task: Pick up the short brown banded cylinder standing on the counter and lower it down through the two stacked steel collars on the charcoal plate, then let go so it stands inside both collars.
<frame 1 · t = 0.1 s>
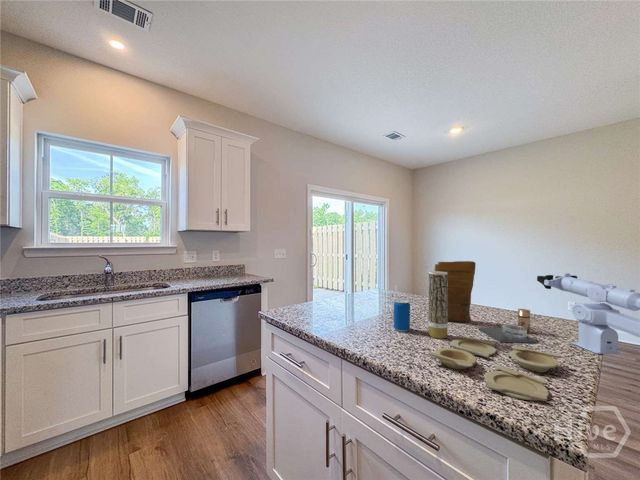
hand: (547, 278, 113), 22 cm above the worktop, tool horizontal, fingers open, 7 cm apart
grey patterned cylinder: (437, 336, 104), on the worktop
collar stand: (514, 337, 103), on the worktop
beverage can: (401, 330, 111), on the worktop
tableware set: (491, 366, 81), on the worktop
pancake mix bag: (453, 321, 124), on the worktop
brown banded cylinder: (523, 331, 110), on the worktop
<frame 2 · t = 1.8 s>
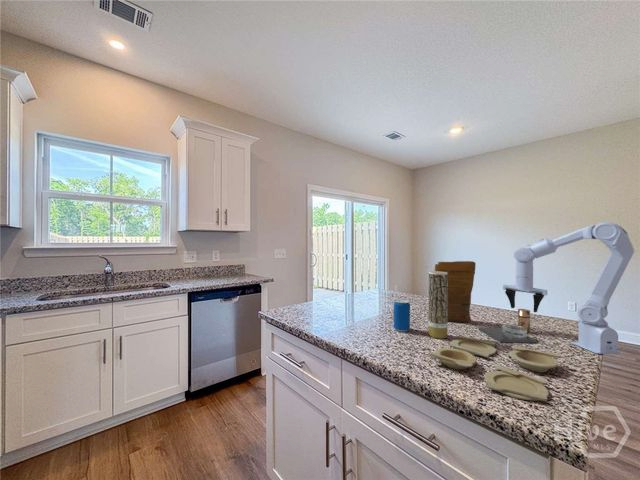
hand: (523, 309, 110), 9 cm above the worktop, tool pointing down, fingers open, 7 cm apart
nothing on the worktop moved.
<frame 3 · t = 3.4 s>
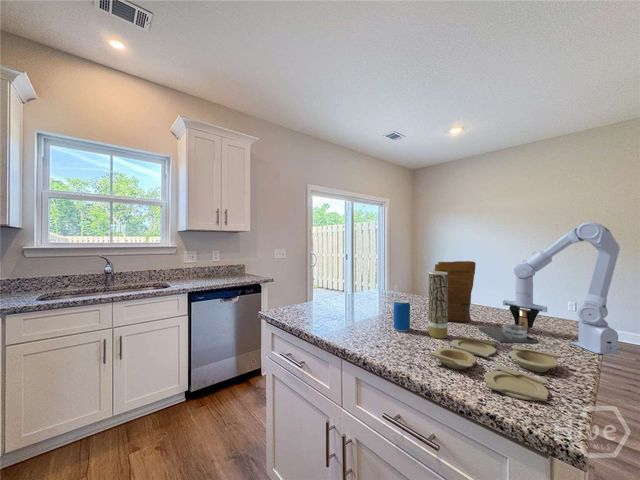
hand: (523, 325, 110), 2 cm above the worktop, tool pointing down, fingers closed on brown banded cylinder, 4 cm apart
brown banded cylinder: (523, 331, 110), on the worktop, touching gripper
everything else where it was.
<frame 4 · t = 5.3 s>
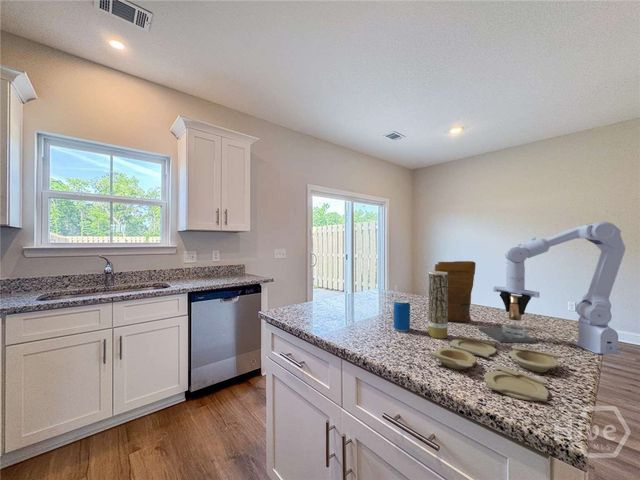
hand: (515, 312, 104), 9 cm above the worktop, tool pointing down, fingers closed on brown banded cylinder, 4 cm apart
brown banded cylinder: (515, 319, 104), point 7 cm above the worktop, touching gripper
everything else where it was.
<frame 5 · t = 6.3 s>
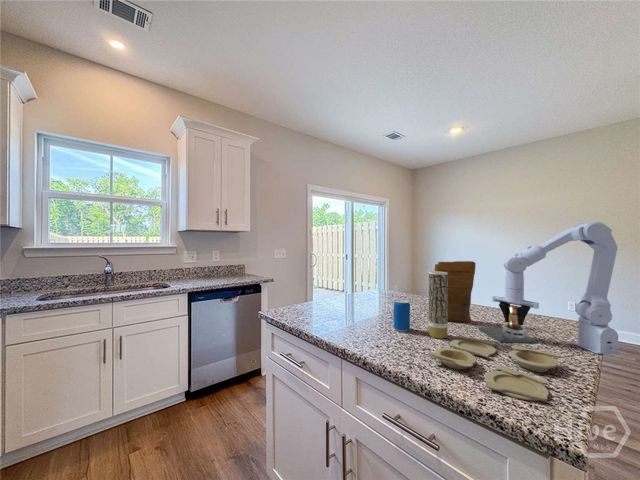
hand: (514, 323, 103), 6 cm above the worktop, tool pointing down, fingers closed on brown banded cylinder, 4 cm apart
brown banded cylinder: (514, 329, 103), point 3 cm above the worktop, touching gripper
everything else where it was.
when the fingers open (5 cm above the worktop, at t = 7.2 s): brown banded cylinder drops 2 cm, resting on collar stand.
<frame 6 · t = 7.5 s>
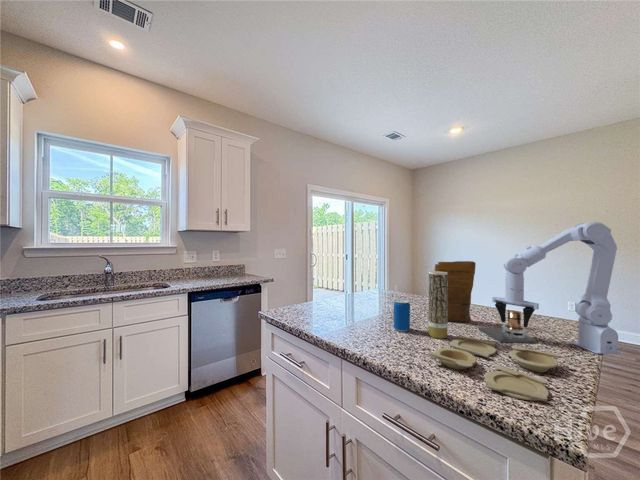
hand: (514, 324, 103), 5 cm above the worktop, tool pointing down, fingers open, 7 cm apart
brown banded cylinder: (514, 334, 103), point 1 cm above the worktop, touching collar stand
everything else where it was.
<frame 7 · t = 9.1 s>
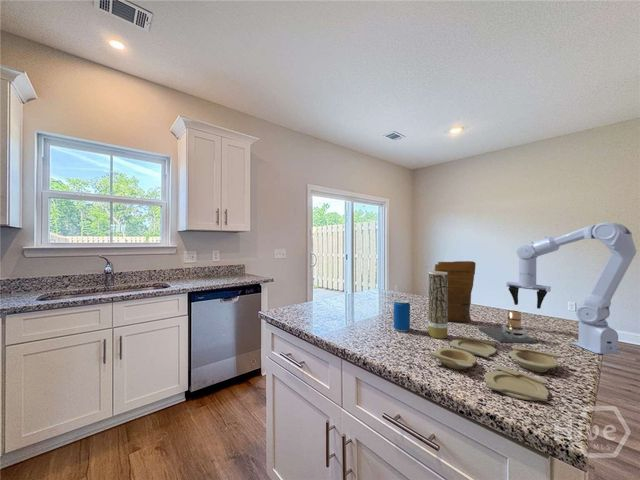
hand: (527, 306, 111), 10 cm above the worktop, tool pointing down, fingers open, 7 cm apart
nothing on the worktop moved.
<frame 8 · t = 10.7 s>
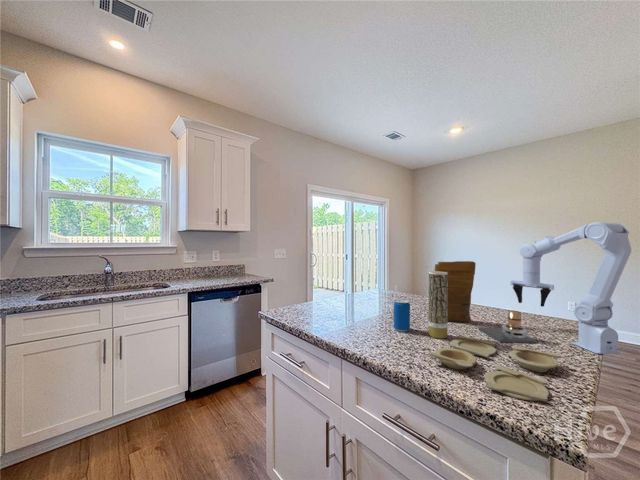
hand: (531, 304, 114), 10 cm above the worktop, tool pointing down, fingers open, 7 cm apart
nothing on the worktop moved.
at the end: brown banded cylinder 0.1 cm off-centre on the collar stand, point 1.0 cm above the collar stand's base; brown banded cylinder tilted 1°; the gripper is holding nothing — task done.
